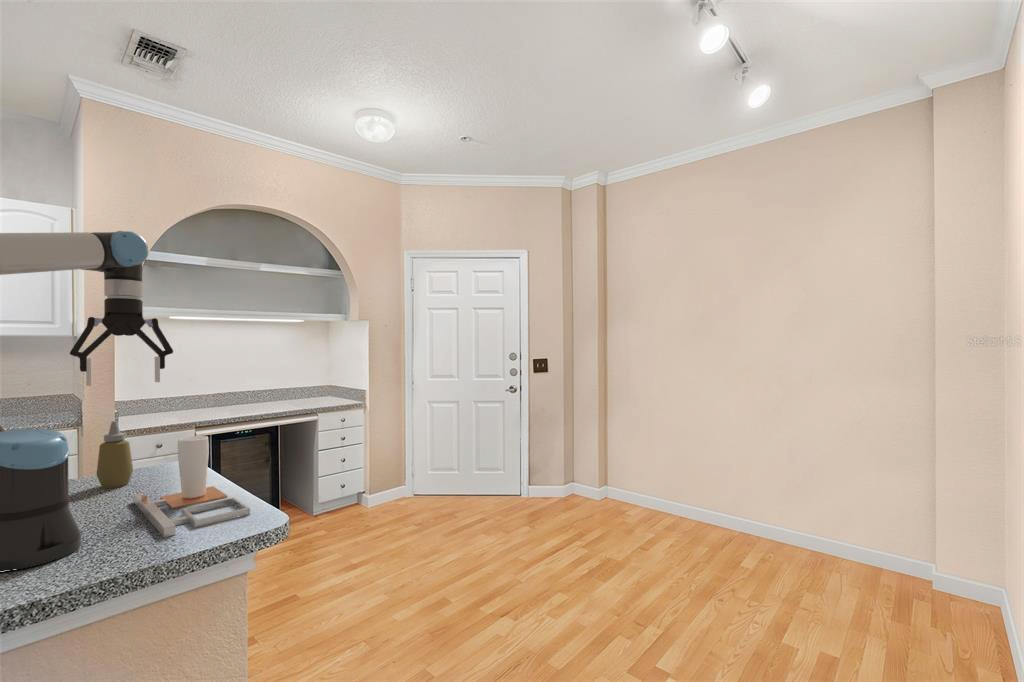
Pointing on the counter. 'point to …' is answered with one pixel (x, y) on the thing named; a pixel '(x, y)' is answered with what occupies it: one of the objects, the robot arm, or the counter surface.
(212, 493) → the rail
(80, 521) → the counter surface
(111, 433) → the squeeze bottle
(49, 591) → the counter surface
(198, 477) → the drinking glass
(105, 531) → the counter surface
